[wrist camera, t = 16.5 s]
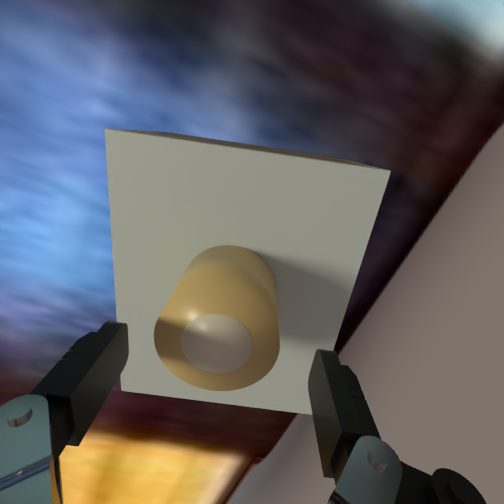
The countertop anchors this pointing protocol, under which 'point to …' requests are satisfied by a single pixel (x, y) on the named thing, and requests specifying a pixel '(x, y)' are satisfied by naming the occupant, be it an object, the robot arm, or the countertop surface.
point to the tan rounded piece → (221, 321)
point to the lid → (236, 234)
